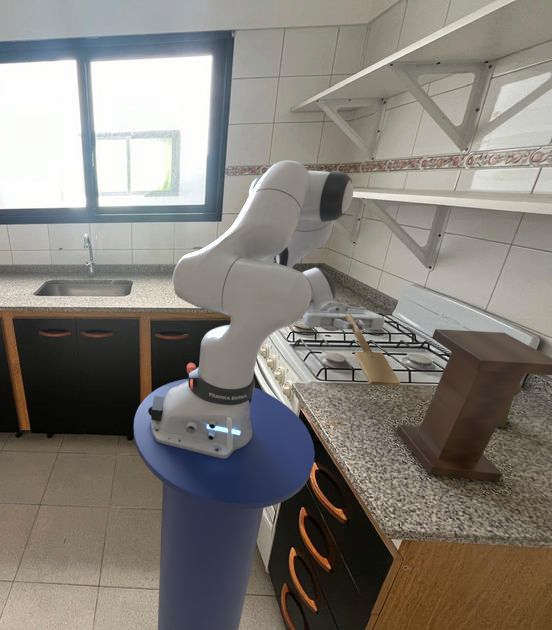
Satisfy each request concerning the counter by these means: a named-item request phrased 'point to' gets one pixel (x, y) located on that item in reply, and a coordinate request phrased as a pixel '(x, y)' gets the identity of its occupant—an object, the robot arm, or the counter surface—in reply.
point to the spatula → (372, 361)
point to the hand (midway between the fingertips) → (355, 326)
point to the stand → (471, 401)
